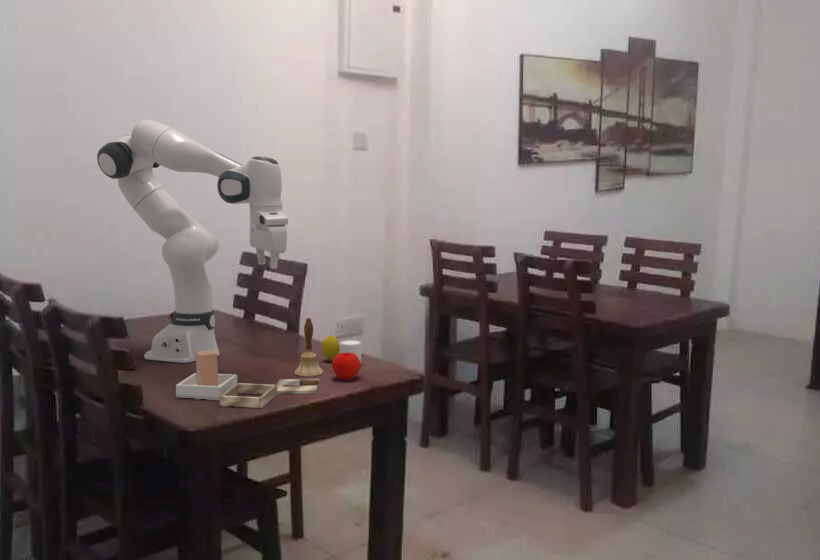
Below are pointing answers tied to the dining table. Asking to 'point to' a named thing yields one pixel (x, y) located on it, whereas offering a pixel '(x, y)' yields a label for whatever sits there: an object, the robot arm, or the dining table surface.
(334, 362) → the apple
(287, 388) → the lid with scoop
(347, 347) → the white round tub
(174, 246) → the robot arm
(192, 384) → the white square tray
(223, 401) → the birch bin
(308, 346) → the hand bell
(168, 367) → the dining table surface
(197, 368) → the terracotta brick
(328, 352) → the lemon
